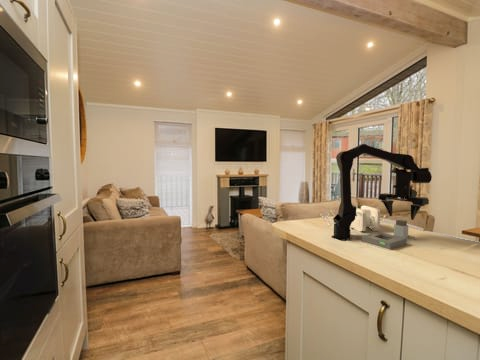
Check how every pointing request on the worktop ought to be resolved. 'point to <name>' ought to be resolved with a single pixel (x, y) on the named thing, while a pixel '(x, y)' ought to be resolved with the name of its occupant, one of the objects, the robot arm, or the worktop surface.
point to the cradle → (410, 238)
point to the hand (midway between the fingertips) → (401, 217)
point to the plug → (401, 229)
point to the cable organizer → (366, 219)
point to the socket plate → (384, 240)
